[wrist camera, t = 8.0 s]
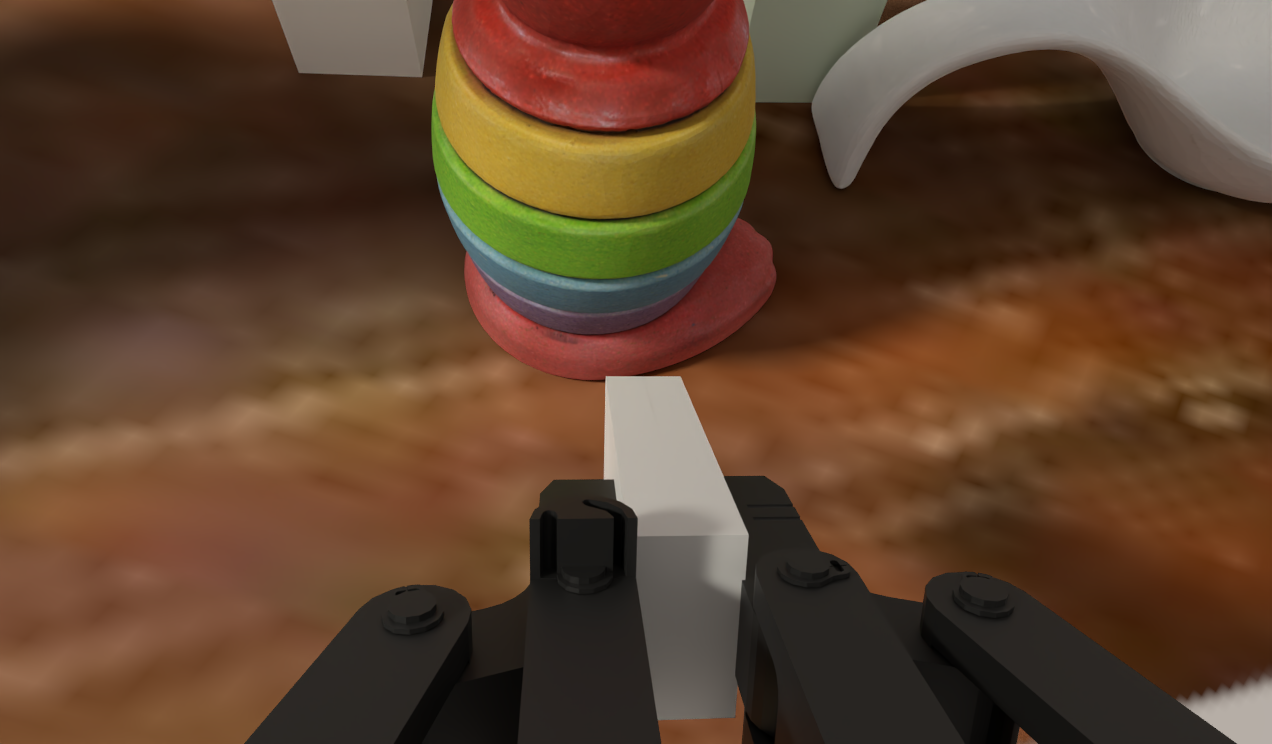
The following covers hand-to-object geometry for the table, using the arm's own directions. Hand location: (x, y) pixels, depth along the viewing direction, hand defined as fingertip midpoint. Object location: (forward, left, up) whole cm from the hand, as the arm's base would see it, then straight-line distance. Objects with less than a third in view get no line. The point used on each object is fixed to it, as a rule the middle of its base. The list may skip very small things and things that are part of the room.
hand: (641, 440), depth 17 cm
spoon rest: (+20, +18, -10) cm, 29 cm away
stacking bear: (-1, +11, -10) cm, 15 cm away
